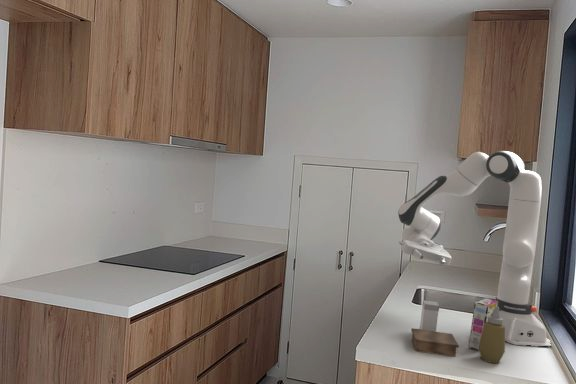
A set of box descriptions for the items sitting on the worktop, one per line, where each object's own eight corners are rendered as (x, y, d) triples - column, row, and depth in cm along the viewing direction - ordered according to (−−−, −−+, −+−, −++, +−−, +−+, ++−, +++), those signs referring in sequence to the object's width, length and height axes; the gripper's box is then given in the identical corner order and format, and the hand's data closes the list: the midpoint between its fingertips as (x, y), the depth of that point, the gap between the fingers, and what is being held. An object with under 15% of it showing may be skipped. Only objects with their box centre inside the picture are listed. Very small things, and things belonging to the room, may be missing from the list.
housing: (433, 333, 196) (437, 302, 195) (435, 338, 191) (439, 305, 190) (419, 331, 196) (422, 300, 196) (420, 336, 191) (424, 303, 191)
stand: (450, 344, 185) (451, 333, 185) (457, 357, 173) (458, 345, 173) (410, 339, 186) (411, 328, 186) (414, 351, 175) (415, 339, 174)
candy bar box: (482, 352, 181) (488, 305, 180) (467, 347, 184) (473, 301, 183) (492, 345, 189) (498, 300, 188) (479, 341, 192) (484, 297, 191)
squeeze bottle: (506, 361, 174) (514, 308, 173) (497, 367, 168) (505, 311, 167) (482, 353, 179) (489, 302, 178) (473, 358, 173) (480, 305, 172)
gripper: (400, 233, 213) (410, 245, 200) (445, 246, 216) (458, 259, 203) (394, 247, 215) (404, 260, 201) (440, 260, 218) (452, 274, 205)
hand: (432, 260), depth 202 cm, fingers open, 8 cm apart
